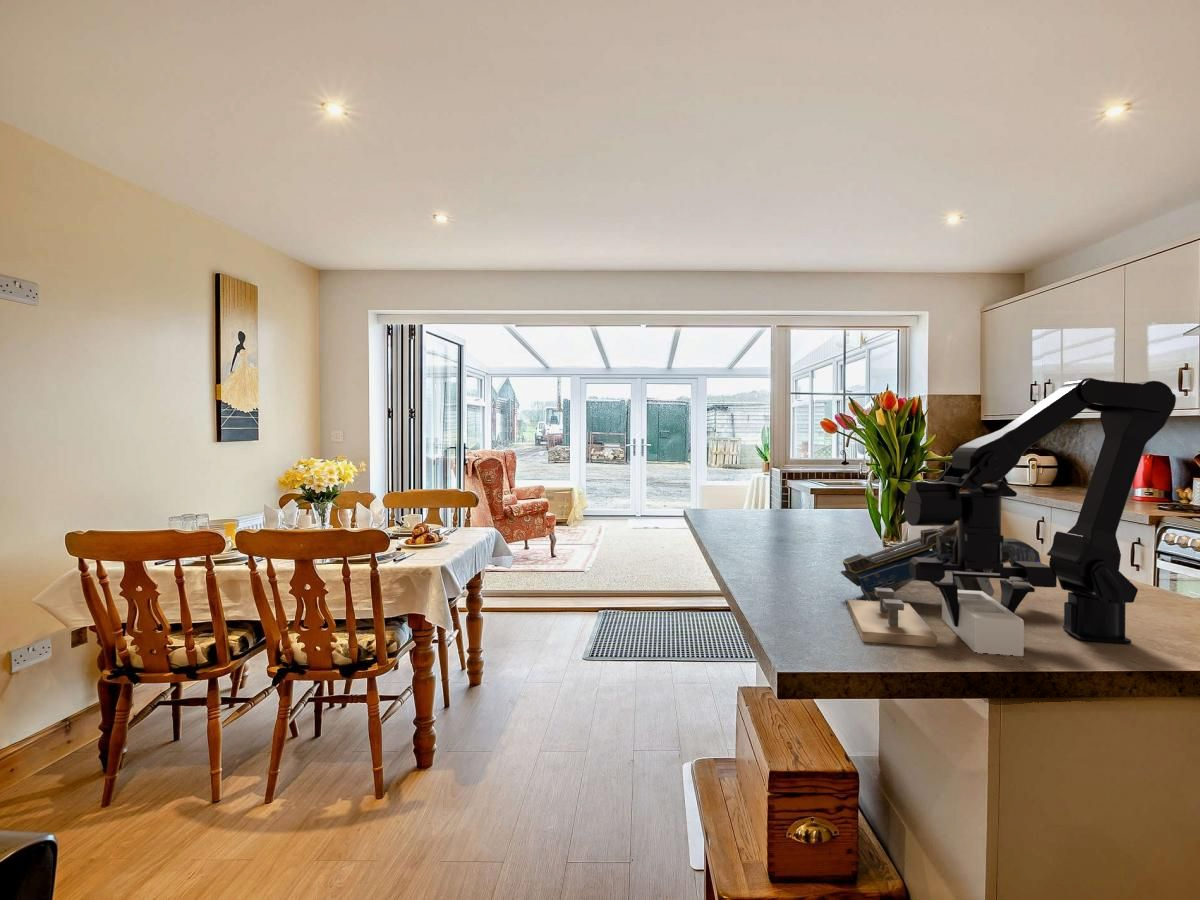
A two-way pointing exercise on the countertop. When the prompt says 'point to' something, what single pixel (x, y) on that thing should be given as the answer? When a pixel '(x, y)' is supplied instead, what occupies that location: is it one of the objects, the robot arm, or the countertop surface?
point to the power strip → (986, 624)
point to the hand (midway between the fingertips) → (978, 627)
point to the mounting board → (890, 621)
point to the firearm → (895, 564)
